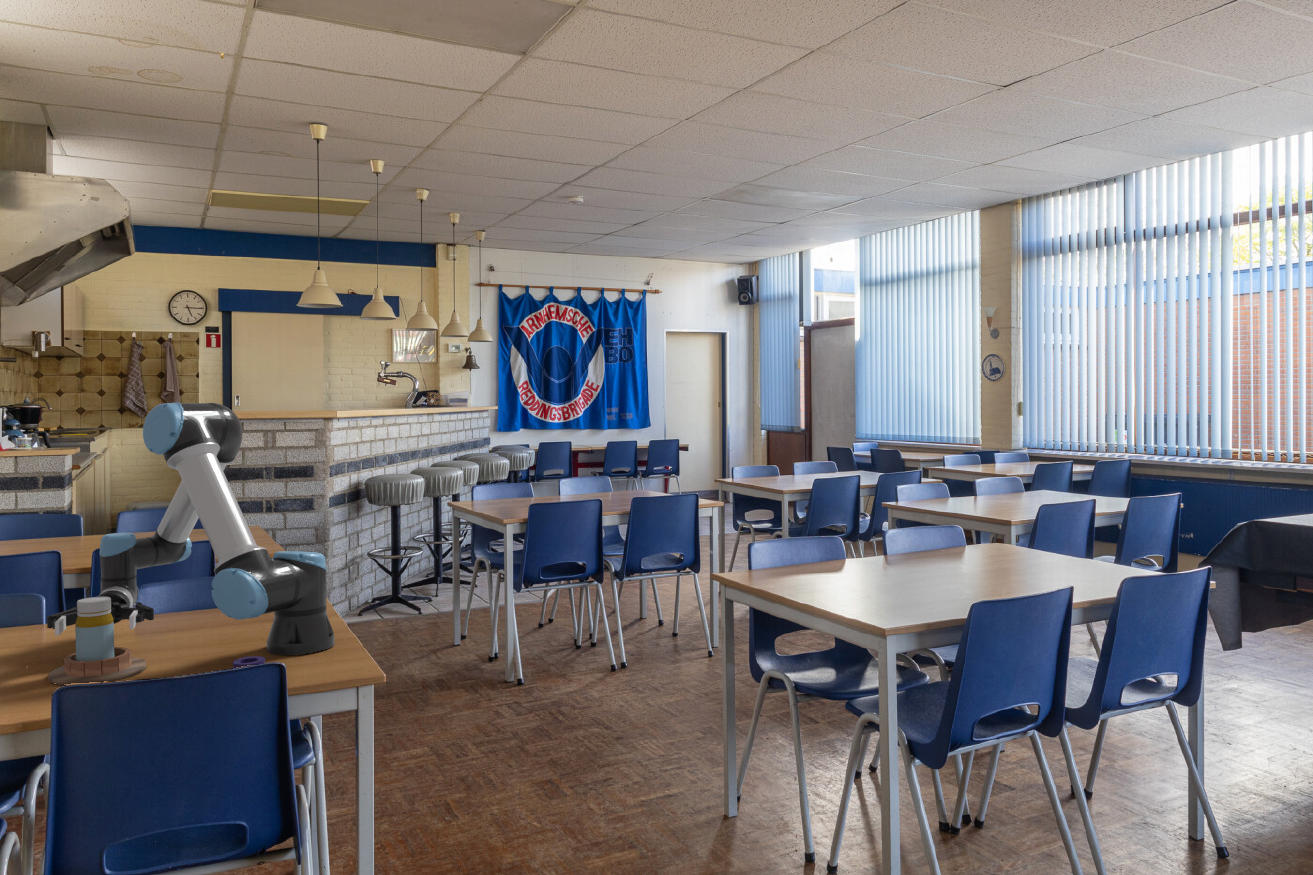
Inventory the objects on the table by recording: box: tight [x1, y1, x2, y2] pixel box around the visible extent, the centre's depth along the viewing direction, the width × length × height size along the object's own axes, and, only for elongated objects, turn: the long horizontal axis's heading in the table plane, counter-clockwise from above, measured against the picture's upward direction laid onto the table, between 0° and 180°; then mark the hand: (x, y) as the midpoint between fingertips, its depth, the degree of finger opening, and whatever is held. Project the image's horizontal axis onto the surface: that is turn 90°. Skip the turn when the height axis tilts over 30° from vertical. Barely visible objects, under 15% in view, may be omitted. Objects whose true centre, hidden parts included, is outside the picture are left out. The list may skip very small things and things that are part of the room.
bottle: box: [74, 596, 115, 661], centre depth 192 cm, size 7×7×15 cm
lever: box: [232, 655, 266, 669], centre depth 190 cm, size 12×6×3 cm, turn 164°
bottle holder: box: [47, 646, 147, 686], centre depth 193 cm, size 18×18×4 cm
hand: (94, 625), depth 189 cm, fingers open, 13 cm apart
